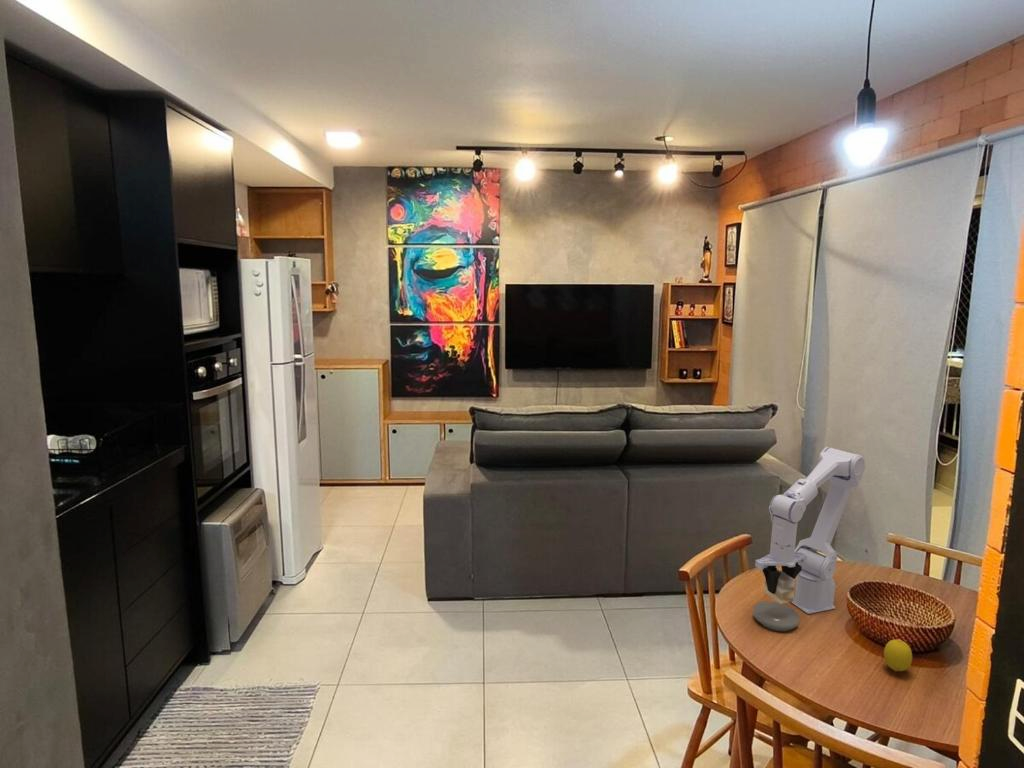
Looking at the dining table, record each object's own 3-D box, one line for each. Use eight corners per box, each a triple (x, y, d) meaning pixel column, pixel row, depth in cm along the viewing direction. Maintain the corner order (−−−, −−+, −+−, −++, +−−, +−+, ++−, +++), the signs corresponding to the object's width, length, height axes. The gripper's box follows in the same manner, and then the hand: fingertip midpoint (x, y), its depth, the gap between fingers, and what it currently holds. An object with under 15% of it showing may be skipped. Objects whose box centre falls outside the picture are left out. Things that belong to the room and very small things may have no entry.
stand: (777, 607, 169) (778, 598, 169) (807, 629, 159) (808, 620, 159) (744, 613, 166) (744, 605, 166) (772, 636, 156) (773, 627, 155)
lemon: (907, 667, 144) (912, 636, 143) (911, 681, 139) (916, 649, 138) (880, 661, 147) (884, 630, 145) (883, 674, 142) (887, 643, 140)
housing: (776, 589, 164) (778, 568, 163) (793, 601, 159) (795, 579, 158) (764, 592, 163) (766, 571, 162) (780, 603, 158) (782, 582, 156)
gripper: (770, 552, 152) (766, 602, 155) (818, 544, 157) (812, 593, 159) (751, 540, 159) (747, 588, 162) (797, 533, 163) (792, 580, 166)
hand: (778, 590), depth 161 cm, fingers closed on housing, 4 cm apart
